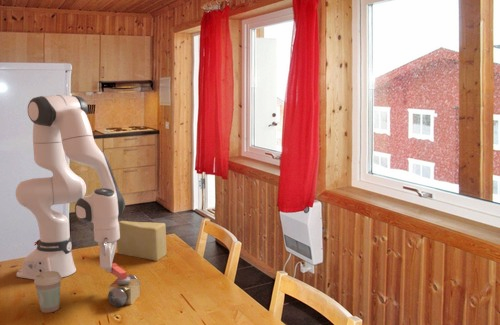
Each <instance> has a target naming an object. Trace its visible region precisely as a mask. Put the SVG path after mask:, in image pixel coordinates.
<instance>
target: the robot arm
mask: <svg viewBox="0 0 500 325" xmlns="http://www.w3.org/2000/svg"><path fill="white" fill-rule="evenodd" d="M88 109H89V108H88V104H87V102H86V100H85V99H84V98H83V97H81V96H79V95H73V94H72V95H66V94H65V95H64V94H56V95H48V96H47V95H46V96H44V95H41V96H36V97H33V98H32V99H30V100H29V102H28V105H27V115H28V117H29V119H30V121H31V122H32V123H33V126H32V146H33V148H32V149H33V159H34V164H36V165H37V166H38V167H40V168H42V169H45V170H48V171H50V172H51V173H52V176H49V177H37V178H30V179H26V180H23V181H20V182H19V183H18V184H17V186H16V189H15V198H16V200H17V202H18V204H20V205H21V206H22V207H24V208H25V209H28V210H29V211H30V212H31V213H32V214H33V216H34V217H35V218H36V220H37V221H36V222H37V226H38V231H39V239H38V240H36V241H35V242H34V244H33V245H34V246H36V248H35V249H34V250H33V251H32V252H30V253H29V254H28V255H27V256H25V257H24V260H23V261H22V268H20V269H19V270H18V271H16V278H17V277H18V278H24V279H29V280H33V281H34V280H35V277H36V275H38V274H40V273H42V272H47V271H56V272H59V274H60V276H61V278H62V279H63V278H65V277H68V276H71V275H72V274H74V273H75V272H76V271H77V268H76V265H75V262H74V257H73V254H72V249H73V248H72V247H73V246H72V237H71V234H70V220H69V218H68V217H67V215H66V214H63V213H61V212H58V211H55V210H53V209H52V208H51V207H52V206H55V205H56V206H57V205H63V204H72V203H75V206H74V213H75V216H76V218H77V220H79V221H80V222H82V223H85V224H86V223H89V224H90V223H92V224H93V239H94V240H93V241H94V242H96V243H97V244H98V246H99V267H100V269H105V270H106V273H110V272H111V271H112V263H114V262H113V261H114V257H115V253H116V250H117V240H118V239H120V229H119V222H120V221H119V217H121V215H122V214H123V212H124V210H125V208H126V201H125V198H124V196H123V195H122V193H121V191H120V188H119V186H118V184H117V180H116V179H115V176H114V173H113V170H112V167H111V163H110V162H109V160H108V157H107V155H106V153H105V152H104V151H103V150H101V149H100V148H99V146H98V144H97V143H96V141H95V138H94V133H93V130H92V126H91V123H90V120H89V117H88V113H89V112H88V111H89V110H88ZM66 157H67V159H69V160H70V161H72V162H74V163H77V164H80V165H84V166H88V167H89V168H92V169H93V170H94V171H95V173H97V174H96V175H97V176H98V178H99V181H100V185H101V188H96V189H95V190H93V191H92V193H91V194H89V195H86V193H87V184H86V182H85V180H84V179H83V178H82V177H81V176H80V175H77V174H76V173H75V172H74V171H73V170H72V168H70V165H69V164H68V162H67V159H66ZM110 274H111V273H110Z"/></svg>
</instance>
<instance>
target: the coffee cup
mask: <svg viewBox="0 0 500 325" xmlns="http://www.w3.org/2000/svg"><path fill="white" fill-rule="evenodd" d="M62 279H63V277H62V278H61V276H60V274H59V272H56V271H47V272H42V273H40V274H38V275H36V277H35V280H34V279H33V281H34V282H33V284H34V285H35V289H36V294H37V299H38V303H39V309H40V311H41V313H47V314H49V313H54V312H56V311H57V310H59V309H60V300H61V299H60V298H61V282H62Z"/></svg>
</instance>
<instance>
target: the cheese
mask: <svg viewBox="0 0 500 325" xmlns="http://www.w3.org/2000/svg"><path fill="white" fill-rule="evenodd" d="M118 222H119V229H120V239H118V240H116V241H117V243H116V250H117V252H116V253H117V254H118V255H124V256H129V257H136V258H140V259H146V260H150V261H155V262H158V261H160V260H161V259H163V258H164V257H165V256H166V255H167V229H166V228H167V227H166V223H165V222H151V221H149V222H147V221H146V222H145V221H144V222H143V221H142V222H140V221H129V220H128V221H127V220H120V221H118Z"/></svg>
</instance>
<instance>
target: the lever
mask: <svg viewBox="0 0 500 325" xmlns="http://www.w3.org/2000/svg"><path fill="white" fill-rule="evenodd" d="M110 274H112V275H113V276H114V277H116V279H117V278H118V279H117V282H118V284H120V285H125V284H129V283H130V277H127V275H128V274H127V271H126V270H124V269H123V268H121V267H120V266H119V265H118V264H117V263H116V262H112V271H111V272H110Z"/></svg>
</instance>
